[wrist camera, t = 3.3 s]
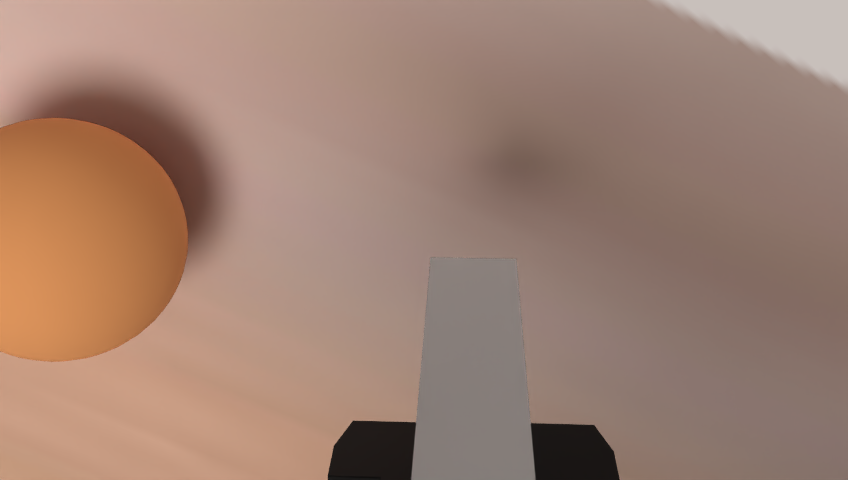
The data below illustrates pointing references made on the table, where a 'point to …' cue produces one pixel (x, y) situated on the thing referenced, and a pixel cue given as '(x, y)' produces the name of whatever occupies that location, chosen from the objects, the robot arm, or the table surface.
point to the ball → (83, 239)
